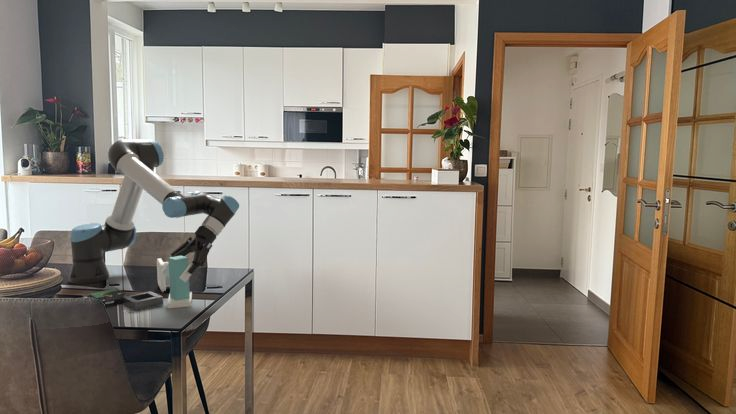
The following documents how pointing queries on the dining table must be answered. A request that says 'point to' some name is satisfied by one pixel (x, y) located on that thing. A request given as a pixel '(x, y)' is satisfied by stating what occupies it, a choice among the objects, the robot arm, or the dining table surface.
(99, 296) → the disk drive
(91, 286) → the dining table surface
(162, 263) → the cable organizer
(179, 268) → the teal peg
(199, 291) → the dining table surface
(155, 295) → the socket block
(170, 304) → the off-white pad
